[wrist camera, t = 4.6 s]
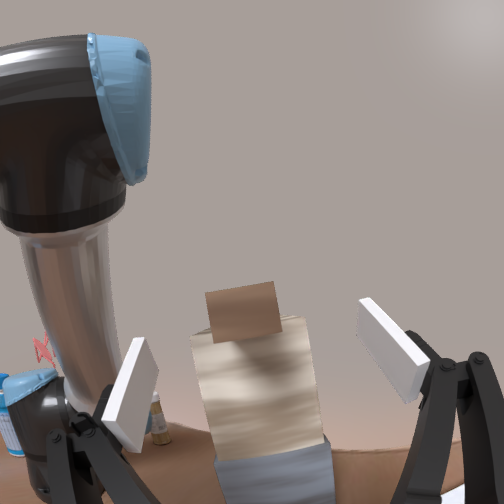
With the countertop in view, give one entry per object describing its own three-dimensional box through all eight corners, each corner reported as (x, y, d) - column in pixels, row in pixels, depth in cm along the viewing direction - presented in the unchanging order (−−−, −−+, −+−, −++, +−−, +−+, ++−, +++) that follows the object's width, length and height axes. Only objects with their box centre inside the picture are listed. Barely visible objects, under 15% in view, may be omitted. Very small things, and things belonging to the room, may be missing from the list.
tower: (337, 520, 19) (311, 315, 25) (240, 538, 18) (183, 337, 24) (307, 458, 38) (283, 314, 43) (241, 470, 37) (209, 326, 43)
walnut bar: (282, 331, 15) (273, 281, 16) (213, 343, 15) (205, 292, 16) (259, 318, 43) (255, 300, 43) (234, 323, 42) (230, 304, 43)
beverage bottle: (8, 458, 25) (-19, 377, 29) (8, 446, 31) (-15, 372, 35) (37, 456, 32) (11, 377, 36) (34, 444, 37) (12, 372, 41)
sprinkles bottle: (166, 436, 54) (154, 389, 57) (174, 442, 51) (160, 392, 54) (150, 441, 51) (137, 393, 54) (157, 447, 48) (142, 396, 51)
